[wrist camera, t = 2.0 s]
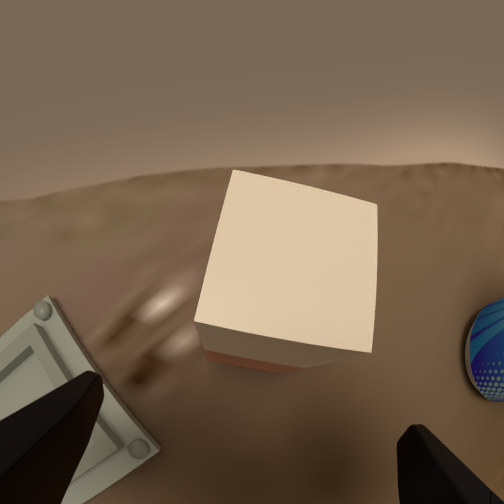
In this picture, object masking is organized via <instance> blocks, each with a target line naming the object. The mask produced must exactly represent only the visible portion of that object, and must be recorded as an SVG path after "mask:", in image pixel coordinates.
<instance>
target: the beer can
mask: <svg viewBox="0 0 504 504" xmlns="http://www.w3.org/2000/svg"><path fill="white" fill-rule="evenodd" d="M465 363H466V369H467V373H468V376H469V378H470V380H471V382H472V384H473V385H474V386H475V388H476V389H477V390H479V391H480V393H481V394H482V395H483V396H484V397H485V398H487V399H488V400H491V401H495V402H500V401H504V298H502V299H500V300H498V301H495V302H493V303H491V304H489V305H487V306H486V307H484V308H483V309H482V310H481V311H480V313H479V314H478V315H477V317H476V319H475V321H474V324H473V325H472V327H471V329H470V331H469V334H468V337H467V341H466V346H465Z"/></svg>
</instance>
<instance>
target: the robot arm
mask: <svg viewBox="0 0 504 504" xmlns="http://www.w3.org/2000/svg"><path fill="white" fill-rule="evenodd" d="M103 400H104V387H103V380H102V376H101V375H100V374H99V373H96V372H93V371H90V370H88V371H85V372H83V373H81V374H80V375H78V376H76V377H75V378H73V379H71V380H70V381H68V382H66V383H64V384H63V385H61V386H59V387H57V388H56V389H54V390H52V391H51V392H49V393H47V394H45V395H44V396H42V397H40V398H38V399H37V400H35V401H33V402H32V403H30V404H28V405H26V406H25V407H23V408H21V409H19V410H18V411H16V412H14V413H12V414H11V415H9V416H7V417H5V418H4V419H2V420H0V504H61V503H62V500H63V498H64V496H65V494H66V491H67V489H68V487H69V485H70V482H71V480H72V478H73V476H74V474H75V472H76V469H77V467H78V465H79V463H80V461H81V459H82V457H83V455H84V452H85V450H86V448H87V446H88V444H89V441H90V438H91V435H92V432H93V429H94V426H95V423H96V420H97V417H98V415H99V412H100V409H101V406H102V403H103ZM397 467H398V491H399V500H400V504H504V502H503V501H502V500H501V499H500V498H499V497H498V496H497V495H496V494H495V493H494V492H493V491H490V489H489V488H488V487H487V486H486V485H485V484H484V483H483V482H482V481H481V480H480V479H479V478H478V477H477V476H476V475H475V474H474V473H473V472H472V471H471V470H470V469H469V468H468V467H467V466H466V465H465V464H463V463H462V462H461V461H460V460H459V459H458V458H457V457H456V456H455V455H454V454H453V453H452V452H451V451H450V450H449V449H448V448H447V447H446V446H445V445H444V444H443V443H442V442H441V441H440V440H439V439H438V438H437V437H436V436H435V435H434V434H433V433H432V432H430V431H429V430H428V429H427V428H426V427H425V426H424V425H422V424H413V425H411V426H409V428H408V429H407V430H406V431H405V433H404V434H403V435H402V436H401V437H400V439H399V440H398V443H397Z"/></svg>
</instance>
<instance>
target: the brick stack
mask: <svg viewBox="0 0 504 504" xmlns="http://www.w3.org/2000/svg"><path fill="white" fill-rule="evenodd" d="M376 281H377V204H374V203H370V202H367V201H363V200H360V199H356V198H352V197H348V196H345V195H341V194H337V193H333V192H329V191H325V190H321V189H317V188H313V187H309V186H305V185H301V184H297V183H293V182H288V181H284V180H280V179H275V178H271V177H266V176H262V175H257V174H252V173H247V172H243V171H238V170H233V172H232V176H231V179H230V183H229V186H228V190H227V194H226V197H225V201H224V205H223V208H222V212H221V216H220V220H219V223H218V227H217V231H216V235H215V239H214V242H213V246H212V250H211V254H210V258H209V262H208V266H207V270H206V274H205V278H204V282H203V286H202V290H201V294H200V298H199V302H198V307H197V311H196V315H195V319H194V322H195V325H196V328H197V331H198V334H199V337H200V340H201V343H202V346H203V349H204V351H205V354H206V357H207V360H210V361H215V362H220V363H224V364H229V365H234V366H239V367H245V368H250V369H255V370H261V371H267V372H272V373H278V374H279V373H284V372H289V371H294V370H300V369H304V368H309V367H314V366H319V365H323V364H328V363H332V362H336V361H341V360H345V359H349V358H353V357H357V356H361V355H365V354H369V353H371V351H372V341H373V330H374V317H375V301H376Z"/></svg>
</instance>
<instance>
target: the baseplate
mask: <svg viewBox="0 0 504 504" xmlns="http://www.w3.org/2000/svg"><path fill="white" fill-rule="evenodd" d="M88 370H90V371H93V372H96V373H99V374H100V375H101V376H102V380H103V387H104V400H103V403H102V406H101V409H100V412H99V415H98V417H97V420H96V423H95V426H94V429H93V432H92V435H91V438H90V441H89V444H88V446H87V448H86V450H85V452H84V455H83V457H82V459H81V461H80V463H79V465H78V467H77V469H76V472H75V474H74V476H73V478H72V480H71V482H70V485H69V487H68V489H67V491H66V494H65V496H64V498H63V500H62V503H61V504H82V503H84V502H86V501H87V500H89V499H90V498H92V497H94V496H95V495H97V494H98V493H100V492H101V491H103V490H104V489H106V488H107V487H109V486H110V485H112V484H113V483H115V482H116V481H118V480H119V479H121V478H122V477H124V476H125V475H127V474H128V473H129V472H131V471H132V470H134V469H135V468H137V467H138V466H139V465H141V464H142V463H143V462H145V461H146V460H148V459H149V458H150V457H152V456H153V455H154V454H156V453H157V452H159V451H160V449H161V447H160V445H159V444H158V443H157V442H156V441H155V440H154V439H153V438H152V437H151V435H150V434H149V433H148V432H147V431H146V430H145V429H144V427H143V426H142V425H141V424H140V423H139V422H138V420H137V419H136V418H135V417H134V416H133V414H132V413H131V412H130V411H129V409H128V408H127V407H126V406H125V404H124V403H123V402H122V401H121V399H120V398H119V397H118V395H117V394H116V393H115V392H114V390H113V389H112V388H111V386H110V385H109V384H108V382H107V381H106V379H105V378H104V377H103V375H102V374H101V373H100V371H99V370H98V368H97V367H96V365H95V364H94V363H93V361H92V360H91V358H90V357H89V355H88V354H87V352H86V351H85V349H84V348H83V346H82V345H81V343H80V342H79V340H78V338H77V337H76V335H75V334H74V332H73V330H72V329H71V327H70V326H69V324H68V322H67V321H66V319H65V317H64V316H63V314H62V312H61V310H60V309H59V307H58V305H57V303H56V302H55V300H54V299H53V298H51V297H50V296H46V297H45V298H44V299H43V300H40V301H38V302H36V304H35V305H34V308H33V309H31V310H30V311H29V312H28V313H27V314H26V315H25V316H23V317H22V318H21V319H20V320H19V321H18V322H17V323H16V324H15V325H14V326H12V327H11V328H10V329H9V330H8V331H7V332H6V333H5V334H4V335H3V336H2V337H1V338H0V420H2V419H4V418H5V417H7V416H9V415H11V414H12V413H14V412H16V411H18V410H19V409H21V408H23V407H25V406H26V405H28V404H30V403H32V402H33V401H35V400H37V399H38V398H40V397H42V396H44V395H45V394H47V393H49V392H51V391H52V390H54V389H56V388H57V387H59V386H61V385H63V384H64V383H66V382H68V381H70V380H71V379H73V378H75V377H76V376H78V375H80V374H81V373H83V372H85V371H88Z"/></svg>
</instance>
